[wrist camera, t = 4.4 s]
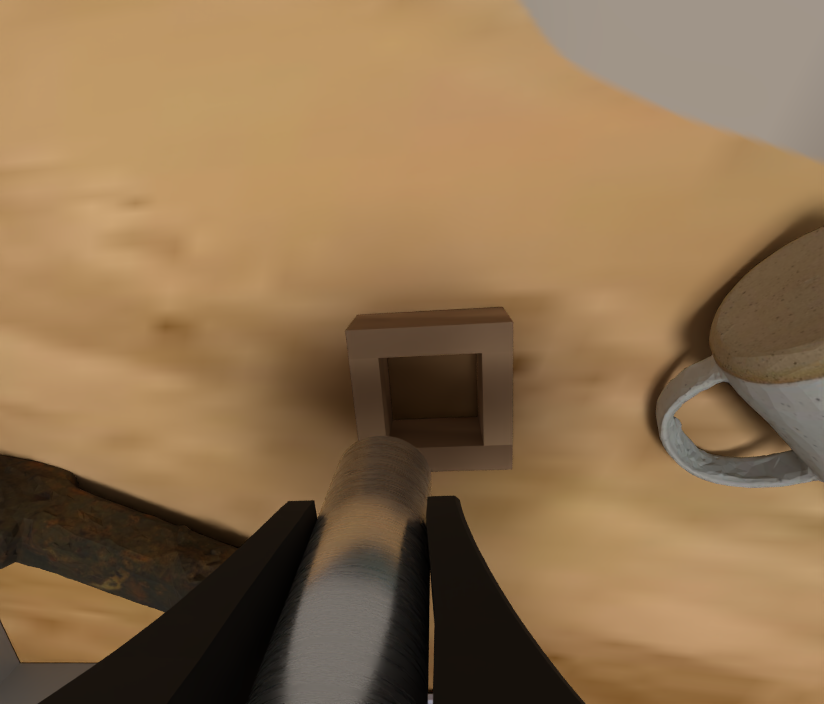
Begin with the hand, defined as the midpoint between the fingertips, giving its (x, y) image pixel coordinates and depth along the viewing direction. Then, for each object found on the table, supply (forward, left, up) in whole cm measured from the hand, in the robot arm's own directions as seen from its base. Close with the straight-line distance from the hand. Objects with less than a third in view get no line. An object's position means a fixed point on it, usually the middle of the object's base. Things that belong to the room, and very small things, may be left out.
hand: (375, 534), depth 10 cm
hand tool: (-7, +14, -10) cm, 19 cm away
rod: (0, 0, -2) cm, 2 cm away
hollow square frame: (0, -1, -9) cm, 9 cm away
